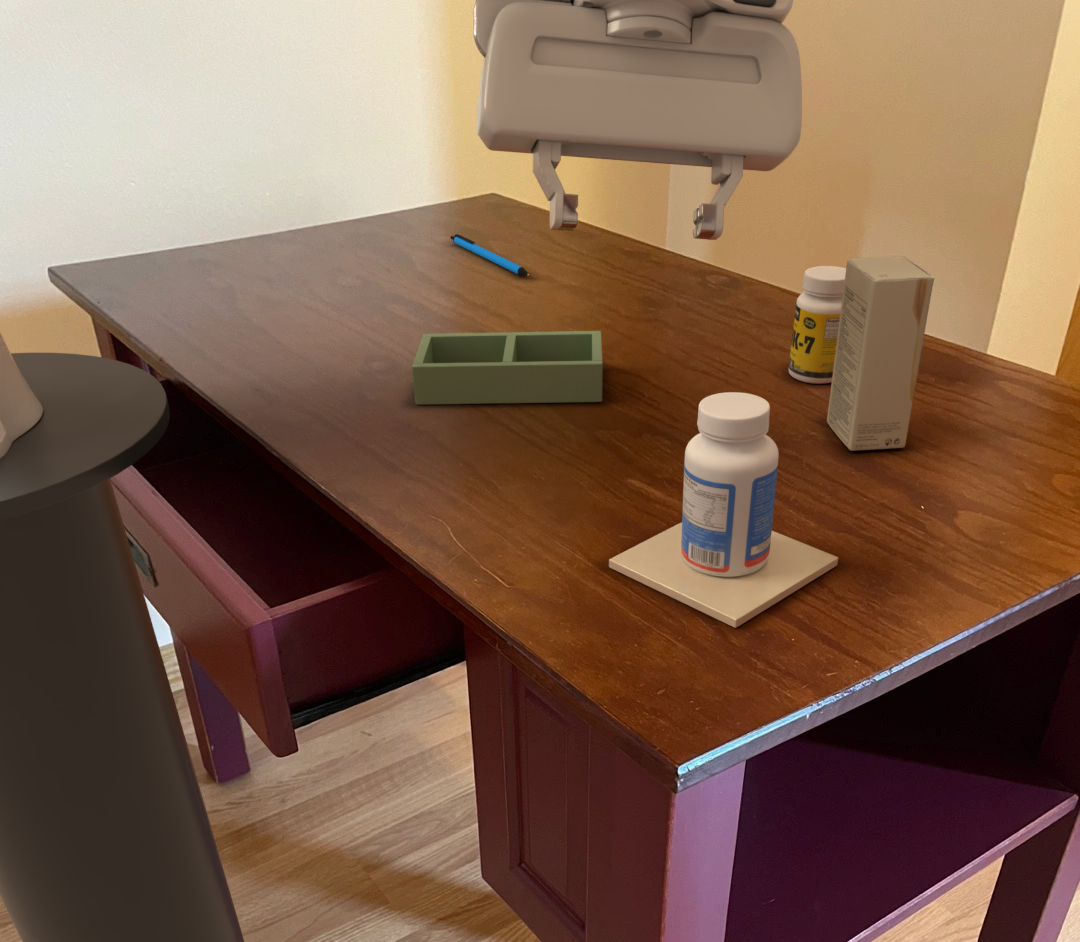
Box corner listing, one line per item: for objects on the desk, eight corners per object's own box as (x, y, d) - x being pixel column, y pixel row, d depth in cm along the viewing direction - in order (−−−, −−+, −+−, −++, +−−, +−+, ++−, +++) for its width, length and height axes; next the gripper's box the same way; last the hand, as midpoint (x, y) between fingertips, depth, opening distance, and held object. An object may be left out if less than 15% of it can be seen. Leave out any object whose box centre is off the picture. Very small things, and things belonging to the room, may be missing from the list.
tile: (735, 628, 62) (736, 619, 61) (608, 567, 67) (608, 559, 67) (837, 565, 67) (838, 557, 67) (711, 514, 73) (712, 505, 72)
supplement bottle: (777, 369, 94) (789, 267, 89) (826, 362, 95) (840, 261, 90) (805, 388, 90) (818, 283, 85) (855, 380, 91) (871, 276, 86)
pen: (455, 240, 130) (454, 230, 129) (532, 278, 117) (532, 267, 116) (448, 241, 130) (447, 231, 129) (525, 280, 116) (525, 269, 116)
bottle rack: (602, 402, 89) (602, 363, 87) (415, 405, 89) (411, 366, 87) (600, 367, 95) (601, 330, 93) (426, 370, 96) (423, 333, 94)
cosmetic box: (906, 450, 80) (939, 278, 72) (848, 453, 80) (875, 281, 72) (878, 416, 85) (906, 252, 78) (823, 420, 85) (846, 255, 77)
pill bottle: (751, 532, 69) (767, 382, 63) (781, 574, 65) (800, 418, 59) (668, 541, 69) (676, 391, 63) (692, 584, 64) (703, 427, 58)
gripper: (480, -53, 61) (479, 208, 64) (819, -16, 65) (806, 229, 67) (467, -1, 67) (467, 235, 70) (778, 30, 71) (767, 254, 73)
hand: (636, 233), depth 69 cm, fingers open, 8 cm apart
